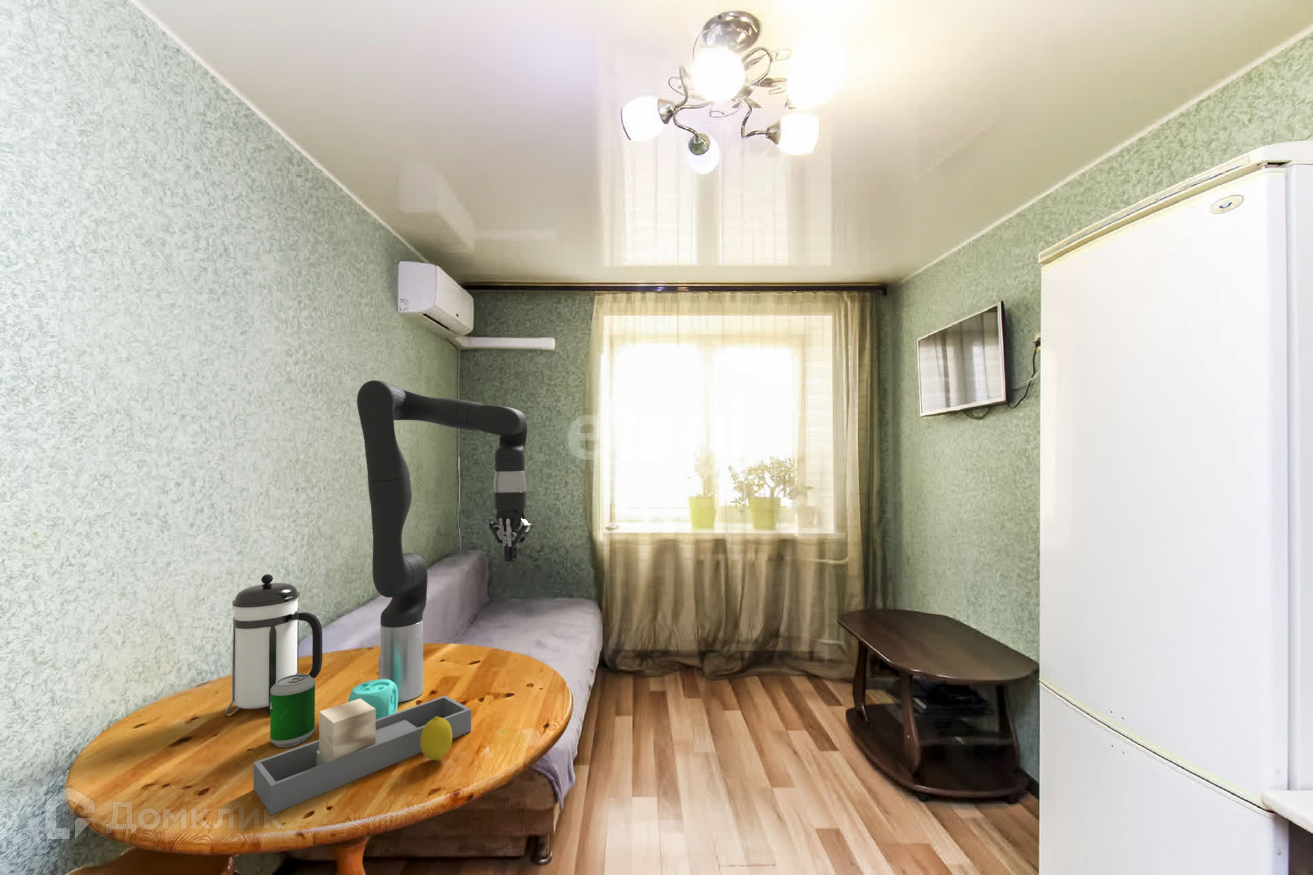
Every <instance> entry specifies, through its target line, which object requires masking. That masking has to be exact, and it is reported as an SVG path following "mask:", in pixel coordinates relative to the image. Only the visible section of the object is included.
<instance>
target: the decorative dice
mask: <svg viewBox="0 0 1313 875" xmlns="http://www.w3.org/2000/svg"><path fill="white" fill-rule="evenodd" d="M357 699H362V700H363V701H365V702H366V703H368V704H369V705H371V706H372V707H374V708H375V709H376V720H377V719H379V718H382V717H385V716H388V715H391V714H394V713H397V712H398V705H399V702H398V688H397V685H396V684H395V683H394V682H393V681H391V680H388V679H379V678H378V679H377V678H376V679H373V680H372V679H371V680H367V681H364V682H361V683H359V684H357V685H356V686H354V687H353V688H352V689H351V691H350V694H349V697H348V699H347V700H348V701H347V702H350V701H354V700H357Z"/></svg>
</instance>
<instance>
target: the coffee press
mask: <svg viewBox="0 0 1313 875" xmlns="http://www.w3.org/2000/svg"><path fill="white" fill-rule="evenodd" d="M273 580H274V577H273V575H271V574H268V573H267V574H264V575H263V576H262V577H261V579H260V581H261V583H262V584H257V585H252V586H249V587H246V588H244V589H242V590H241V591H239V592H238V593H237V594H236V596H235V598H234V599H233V601H232V603H231V606H232V608H231V610H232V611H233V612H234V614H233V618H232V662H231V663H232V666H231V668H232V669H231V670H232V671H231V673H232V674H231V679H232V680H231V701H230V704H229V705H228V707H226V709H225V711H224V714H225V715H226V716H227V717H229V716H228V715H227V714H228V712H229V710H230V709H231V708H232V707H233V705H235V706H236V707H235V709H233V711H232V712H233V713H232V712H231V713H232V714H233V715H235V713H236V712H238V711H239V710H241V709H246V710H252V709H253V710H256V709H262V708H267V712H268V716H270V698H271V688H272V686H273V685H275V684H276V682H277V681H278V680H279V679H281V678H284V677H287V676H290V675H296V674H299V625H300V624H299V621H301V622H302V621H303V622H306V623H308V625H309V626H310V628H311V634H312V642H311V643H312V654H311V655H312V657H311V658H312V660H311V661H312V664H311V669H310V671H309V673H307V674H308V675H310V677H312V678H314V679H316V678H317V677H318V675H319V674H320V672H321V670H322V666H323V628H322V624H321V621H320V620H319V619H318V617H317V616H316V615H314V614H313V613H310V612H306V611H301V612H300V611H299V610H300V609H299V605H298V604H299V603H298V600H299V599H300V595H301V593H300V591H298V589H297V588H296V586H295V585H293V584H291V583H286V582H273ZM271 582H272V583H271Z"/></svg>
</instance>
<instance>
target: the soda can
mask: <svg viewBox="0 0 1313 875" xmlns="http://www.w3.org/2000/svg"><path fill="white" fill-rule="evenodd" d="M308 674H309V673H298V674H296V675H290V676H287V677H284V678H281V679H279V680H278V681H277V682H276V684H275V685H273V686H272V688H271V698H270V715H269V716H270V720H269V721H270V722H269V724H270V726H269V741H270V742H271V743H272V744H273V745H275V746H276V747H277V746H278V747H277V748H290V747H294V746H297V744H298V745H300V744H302V743H305V742H306V741H308V739H310V737H311V736H312V734H313V733H314V732H315V730H316V713H315V712H316V679H315V678H312V677H310V675H308ZM301 742H302V743H301ZM299 743H300V744H299ZM293 745H294V746H293ZM289 746H290V747H289Z"/></svg>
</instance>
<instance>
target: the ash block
mask: <svg viewBox="0 0 1313 875" xmlns="http://www.w3.org/2000/svg"><path fill="white" fill-rule="evenodd" d="M318 714H319V715H318V716H319V719H318V729H319V730H318V740H319V754H320V755H321V756H322V757H323V758H324V759H325V760H326V761H327V762H329V761H332V760H334V759H337V758H340V757H342V756H345V755H348V754H350V753H353V752H355V751H358V750H361V749H363V748H366V747H369V746H371V745H374V744H376V709H375V708H374V707H372V706H371V705H369V704H368V703H366V702H365V701H363V700H362V699H357V700H354V701H350V702H348V701H347V702H344V703H342V704H339V705H335V706H332V707H329V708H326V709H323V710H320V711H319V712H318Z"/></svg>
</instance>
